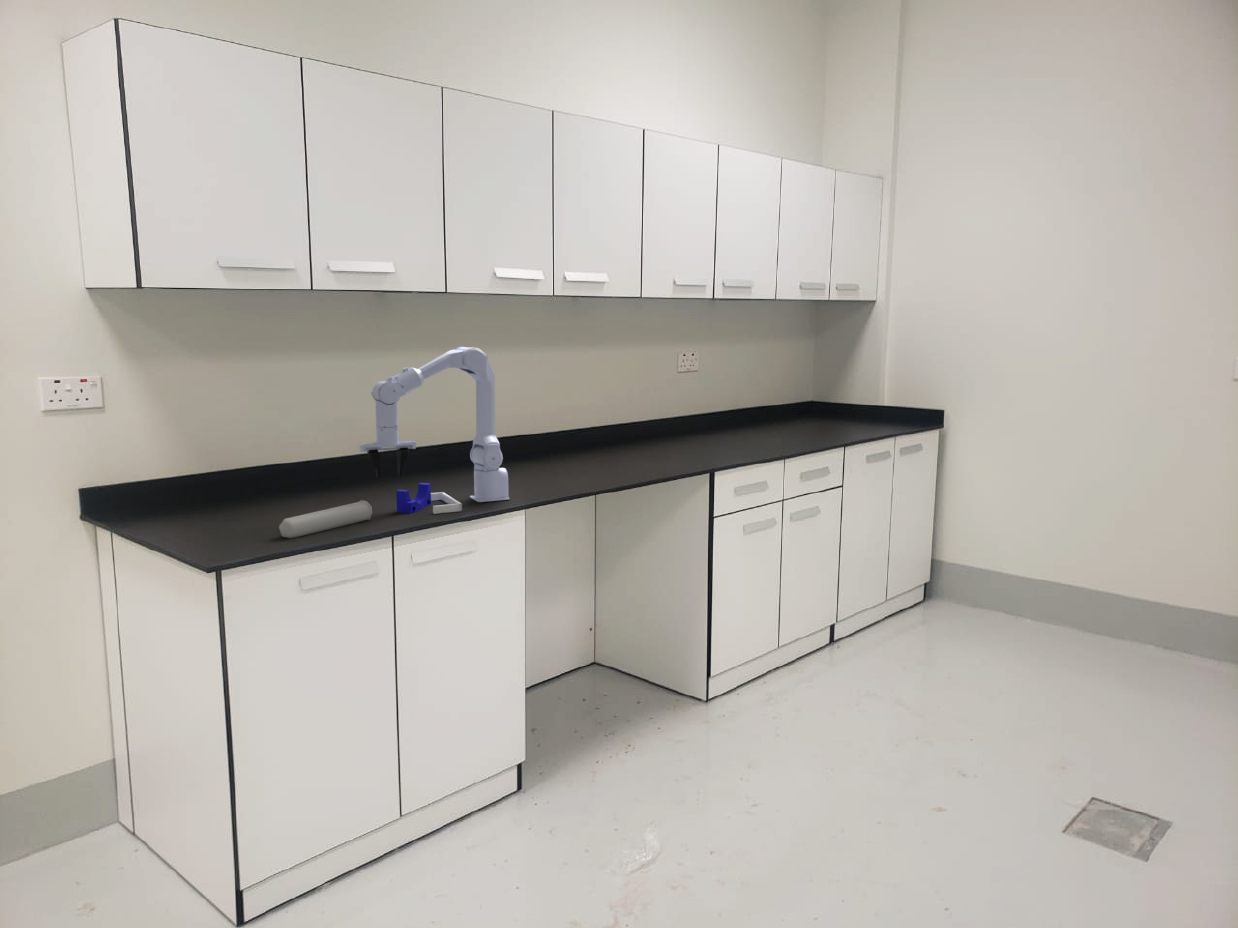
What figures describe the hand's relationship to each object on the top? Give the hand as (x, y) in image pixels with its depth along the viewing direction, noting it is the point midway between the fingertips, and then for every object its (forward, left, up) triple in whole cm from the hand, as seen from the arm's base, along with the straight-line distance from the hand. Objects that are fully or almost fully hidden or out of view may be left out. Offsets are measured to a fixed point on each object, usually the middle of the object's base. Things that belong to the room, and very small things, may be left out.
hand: (389, 476), depth 237 cm
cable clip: (-7, 0, -10) cm, 12 cm away
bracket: (-13, 0, -9) cm, 16 cm away
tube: (+19, +13, -10) cm, 25 cm away
